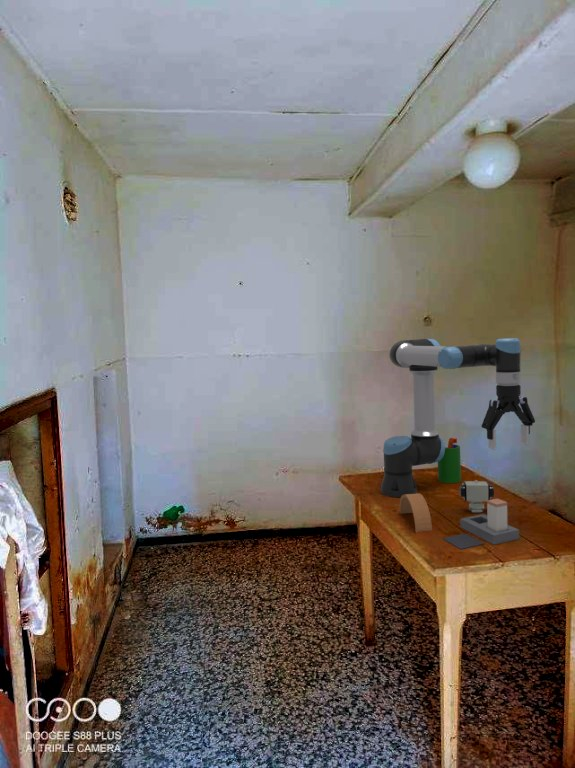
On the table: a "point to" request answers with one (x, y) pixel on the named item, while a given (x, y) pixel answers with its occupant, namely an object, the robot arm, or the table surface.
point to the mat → (463, 541)
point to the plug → (497, 515)
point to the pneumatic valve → (476, 494)
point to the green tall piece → (450, 464)
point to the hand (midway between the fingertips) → (508, 446)
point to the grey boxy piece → (488, 530)
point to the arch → (416, 511)
